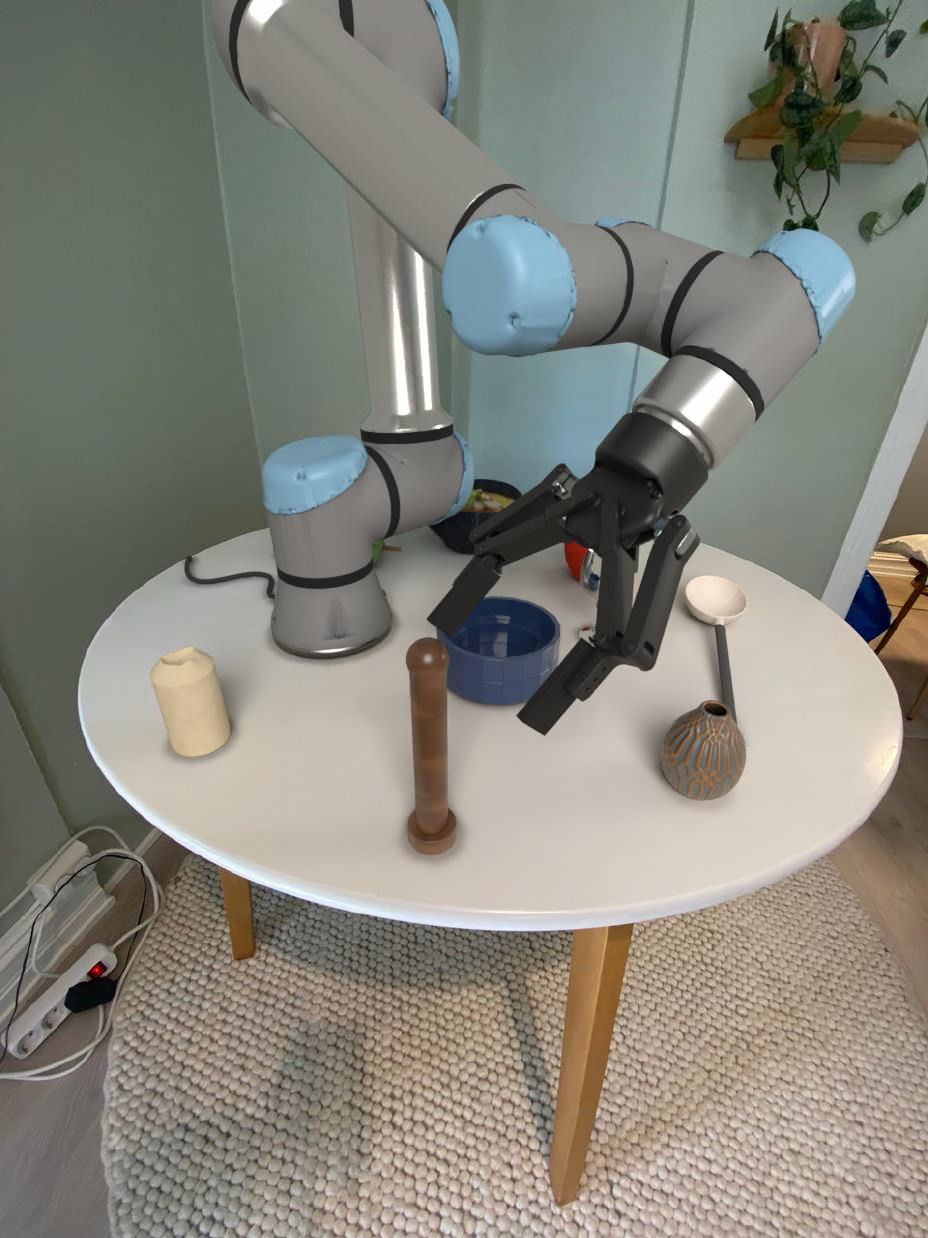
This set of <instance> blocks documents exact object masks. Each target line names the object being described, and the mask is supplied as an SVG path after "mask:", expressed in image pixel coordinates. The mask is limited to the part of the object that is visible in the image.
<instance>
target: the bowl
mask: <svg viewBox="0 0 928 1238" xmlns="http://www.w3.org/2000/svg"><path fill="white" fill-rule="evenodd" d="M522 495H523V493H522V492H521V491H520V490H519V489H518V488H517V487H516V486H515V485H513V484H511V483H508V482H505V481H501V480H498V479H490V478H489V479H488V478H474V484H473V489H472V492H471V495H470V497H469V499H468V501H467V503H466V504H465V506H464V507H463V508H462V509H461V510H460V511H459V512H458V513H456V514H455V515H453V516H451V517H449V518H446V519H444V520H442V521H441V522H439V523H437V524H435V525H430V526H428V528H429V529H430V531H432V532H433V533H434V534H435V535H436V536H437V537H438V538H440V539H441V540H442V542H443V543H444V545H445V547H446V548H447V549H448V550H449V551H452V552H454V553H457V554H462V555H463V554H464V555H475V553H474V550H475V547H474V545H473V543H472V542H471V541H470V540H469V534H470V533H471V531H473V530H474V529H475V528H477V527H478V526H480V525H481V524H482V523H484V522H485V521H487V520H488V519H490V518H491V517H492V516H494V515H495V514H497V513H498V512H500V511H501V510H502V509H504V508H505V507H507V506H508V505H510V504H511V503H512V502H514V501H515V500H517V499H518V498H520V497H521V496H522ZM487 537H488V538H489V539H490V538H492V536H490V535H489V536H487Z"/></svg>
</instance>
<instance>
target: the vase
mask: <svg viewBox="0 0 928 1238" xmlns="http://www.w3.org/2000/svg"><path fill="white" fill-rule="evenodd" d="M738 726H739V725H738V724H737V725H736V723H735V722H734V720H733V719H732V715H731V711H730V709H729V708H728V707H727V706H726V705H725V704H723V703H722V702H721V701H719V700H714V699H708V700H704V701H702V702H701V703H700V704H699V705H698V706H697V707H696V708H694V709H691V710H689V711H687V712H685V713H683V714H681V715H680V716H679V717H678V718H676V719H675V720H674V721H673V722H672V723H671V725H670V726H669V727H668V729H667V731H666V732H665V735H664V736H663V740H662V743H661V744H662V745H661V751H660V761H661V767H662V772H663V773H664V776H665V778H666V779H667V781H668V782H669V783H670V785H671V786H672V787H673V788H674V789H675V790H676V791H677V792H678V793H680V794H681V795H683V796H685V797H687V798H690V799H692V800H697V801H713V800H716V799H720V798H722V797H724V796H726V795H727V794H728V793H731V791H732V790H733V789H735V787H736V786H737V784H738V783H739V781H740V780H741V778H742V776H743V773H744V771H745V767H746V764H747V763H746V762H747V746H746V742H745V737H744V736H743V734H742V732H741V730H740V727H738Z"/></svg>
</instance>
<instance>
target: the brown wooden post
mask: <svg viewBox="0 0 928 1238" xmlns="http://www.w3.org/2000/svg"><path fill="white" fill-rule="evenodd" d="M449 663H450V655H449V652H448V649H447V648H446V646H445V645H444V644H443V643H442V642H441V641H439V640H438V639H437V638H435V637H429V636H425V637H421V638H418V639H416V640H415V641H414V642H412V643H411V645H410V646H409V647H408V648H407V650H406V653H405V665H406V668H407V670H408V675H409V696H410V697H409V698H410V700H409V701H410V719H411V721H410V722H411V740H412V741H411V742H412V761H413V762H412V763H413V780H414V781H413V784H414V785H413V787H414V805H415V809H414V810H413V811H412V812H411V813H410V815H409V816H408V819H407V839H408V842H409V844H410V846H411V847H412V848H413V849H414V850H415V851H416V852H418V853H420V854H423V855H427V856H437V855H441V854H444V853H445V852H447V851H449V850H450V849H451V848H452V847H453V846H454V844H455V842H456V839H457V836H458V835H457V832H458V831H457V830H458V829H457V828H458V827H457V825H458V821H457V817H456V814H455V813H454V812H453V810H452V809H451V808H449V764H448V763H449V761H448V760H449V758H448V757H449V756H448V752H449V751H448V750H449V749H448V744H449V743H448V738H449V737H448V688H447V669H448V667H449Z"/></svg>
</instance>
